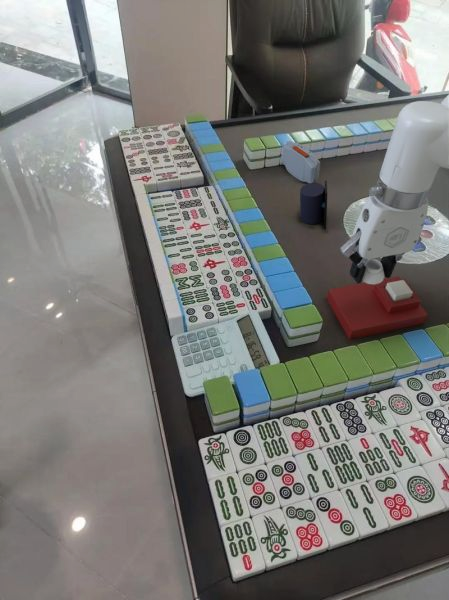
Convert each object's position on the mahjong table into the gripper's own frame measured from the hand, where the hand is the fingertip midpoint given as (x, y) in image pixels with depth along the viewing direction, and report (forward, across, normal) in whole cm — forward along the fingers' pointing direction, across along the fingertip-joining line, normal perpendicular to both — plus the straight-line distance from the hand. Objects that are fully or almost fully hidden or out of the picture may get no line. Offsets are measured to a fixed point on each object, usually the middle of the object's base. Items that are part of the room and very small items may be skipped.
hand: (369, 274), depth 79 cm
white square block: (+7, +8, 0) cm, 11 cm away
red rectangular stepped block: (+11, +4, 0) cm, 12 cm away
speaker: (+11, +3, +31) cm, 33 cm away
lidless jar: (+1, 0, 0) cm, 1 cm away
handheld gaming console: (+11, +7, +51) cm, 53 cm away
